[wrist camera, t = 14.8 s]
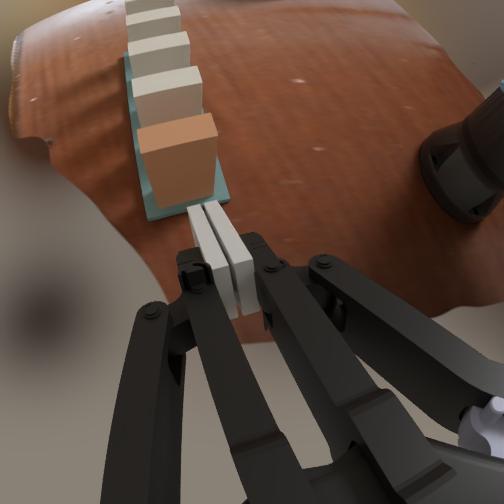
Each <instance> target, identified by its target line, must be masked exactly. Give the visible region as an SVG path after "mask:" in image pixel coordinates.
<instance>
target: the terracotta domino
mask: <svg viewBox="0 0 504 504" xmlns="http://www.w3.org/2000/svg"><path fill="white" fill-rule="evenodd" d="M137 135H138V141H139V147H140V153H141V156H142V160H143V163H144V166H145V169H146V172H147V175H148V179H149V182H150V185H151V188H152V191H153V194H154V197H155V200H156V203H157V206H158V208H159V209H162V208H165V207H169V206H173V205H177V204H181V203H185V202H188V201H192V200H196V199H200V198H204V197H208V196H212V195H214V184H215V170H216V158H217V145H218V133H217V130H216V127H215V124H214V121H213V118H212V115H211V113H207V114H201V115H196V116H192V117H187V118H182V119H178V120H173V121H169V122H165V123H160V124H156V125H152V126H148V127H145V128H141V129H137Z"/></svg>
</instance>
